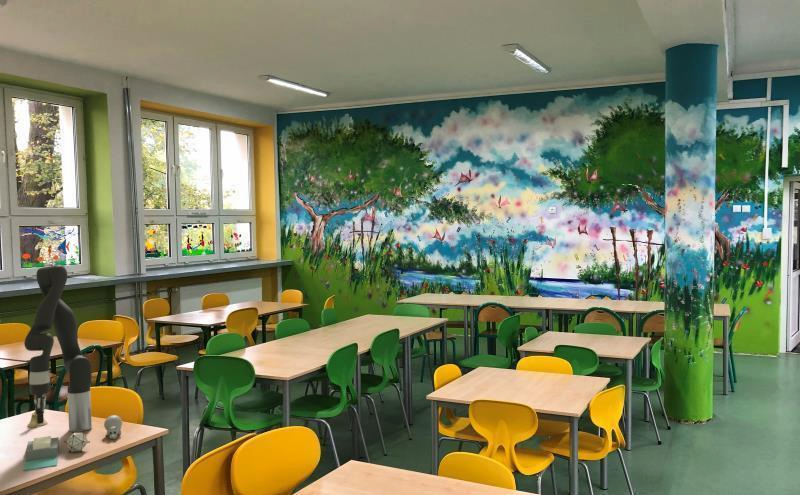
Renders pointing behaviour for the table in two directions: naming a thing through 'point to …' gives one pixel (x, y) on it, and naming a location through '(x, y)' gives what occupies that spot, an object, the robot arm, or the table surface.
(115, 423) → the round bodied animal figurine
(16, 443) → the table surface
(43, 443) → the ivory tile
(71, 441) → the game die
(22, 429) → the table surface
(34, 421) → the hand bell
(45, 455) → the gray board
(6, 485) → the table surface
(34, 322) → the robot arm
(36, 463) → the teal mat
